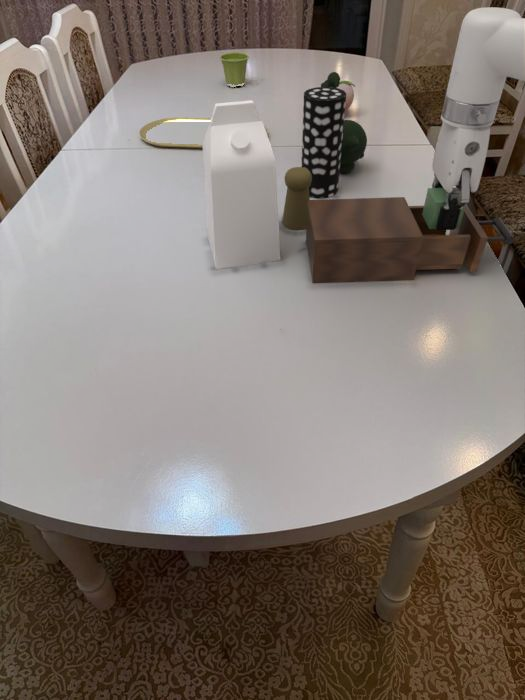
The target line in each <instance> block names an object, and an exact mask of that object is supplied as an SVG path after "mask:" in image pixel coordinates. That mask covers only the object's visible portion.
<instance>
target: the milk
mask: <svg viewBox="0 0 525 700" xmlns="http://www.w3.org/2000/svg"><path fill="white" fill-rule="evenodd" d="M213 106H214V107H213V109H212V114H211V117H210V118H211V120H210V122H211V123H210V124H209V126H208V129H207V131H206V134H205V136H204V139H203V148H202V160H203V161H202V162H203V163H202V164H203V180H204V181H203V182H204V196H205V197H204V199H205V213H206V217H205V219H206V233H207V240H208V244H209V247H210V248H209V249H210V251H211V257H212V260H213V263H214V268H215V270H221V269H229V268H235V267H236V268H237V267H243V266H250V265H257V264H264V263H265V264H266V263H271V262H278V261H281V242H280V225H279V224H280V222H279V221H280V219H279V203H278V202H279V200H278V179H277V178H278V177H277V163H276V158H275V154H274V151H273V148H272V145H271V142H270V139H269V136H268V133H266V130H265V127H266V126H265V124H264V122H263V120H262V117H261V116H260V112H259V111H258V108H257V106H256V104H255V102H254V101H253V100H252V99H249V100H240V101H238V100H237V101H230V102H229V101H228V102H219V103H217V102H216V103H214V105H213ZM264 126H265V127H264Z"/></svg>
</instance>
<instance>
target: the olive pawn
mask: <svg viewBox="0 0 525 700" xmlns="http://www.w3.org/2000/svg"><path fill="white" fill-rule="evenodd" d="M311 181H312V175H311V173H310V171H309V170H308V169H306V168H303V167H301V166H295V167H291V168H289V169H288V170H287V171H286V172H285V175H284V184H285V186H286V187H287V188H286V195H285V201H284V208H283V213H282V220H281V223H282V225H283V227H285V228H286V229H289V230H292V231H301V230H305V229H306V226H307V205H308V204H307V203H308V200H311V199H310V198H311V197H309V186H310V185H311Z"/></svg>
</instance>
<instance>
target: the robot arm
mask: <svg viewBox="0 0 525 700" xmlns="http://www.w3.org/2000/svg"><path fill="white" fill-rule="evenodd" d="M507 78H512V79H515V80H518V81H522V82H525V18H524V17H522V16H521V14H520V13H519V12H517V11H515V9H512V8H511V9H510V8H506V7H493V6H491V7H490V6H489V7H488V6H486V7H478V8H477V7H476V8H474V9H472V10H469V12H468V13H466V15H465V16H464V18H463V20H462V21H461V26H460V30H459V34H458V39H457V44H456V46H455V52H454V56H453V61H452V64H451V70H450V74H449V80H448V84H447V88H446V92H445V97H444V102H443V106H442V110H441V115H440V120H441V121H442V124H441V126H440V130H439V134H438V138H437V140H436V141H437V142H436V145H435V149H434V153H433V158H432V165H431V167H432V171H433V175H434V177H433V181H432V184H431V188H444V189H445V190H446V193H445V200H444V207H441V209H440V213H439V217H438V221H437V225H436V228H437V230H446V231H450V230H454V229H455V228H456V225H457V222H458V218H459V215H460V211H461V210H462V209H463V206H464V205H465V204H466V205H467V204H469V202H470V196H471V195H470V194H471V193H476V192H477V191H478V189H479V186H480V182H481V178H482V175H483V171H484V167H485V163H486V158H487V154H488V149H489V144H490V135H491V126H492V125H493V124H494V121H495V118H496V115H497V111H498V108H499V106H500V105H499V104H500V101H501V97H502V94H503V91H504V87H505V84H506V80H507ZM454 187H458V189H453V188H454ZM470 192H471V193H470ZM451 194H459V195H458V197H457V198H453V199H452V200H451ZM450 200H451V201H450Z"/></svg>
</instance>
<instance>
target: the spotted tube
mask: <svg viewBox="0 0 525 700" xmlns="http://www.w3.org/2000/svg"><path fill="white" fill-rule="evenodd" d="M345 104H346V92H345V91H344V90H341V89H338V88H333V87H321V86H317V87H311V88H308V89H307V90H305V91H304V92H303V105H302V106H303V107H302V137H301V139H302V140H301V163H300V164H301V166H300V167H303V168H306V169H308V170H309V171H310V173H311V175H312V181H311V185H310V186H309V197H310V198H312V199H327V198H328V199H329V198H331V197H333V196H335V195H336V194H337V193H338V191H339V183H340V182H339V181H340V173H341V172H340V160H341V149H342V138H343V126H344V120H345V115H346V114H345V112H346V111H345Z"/></svg>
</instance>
